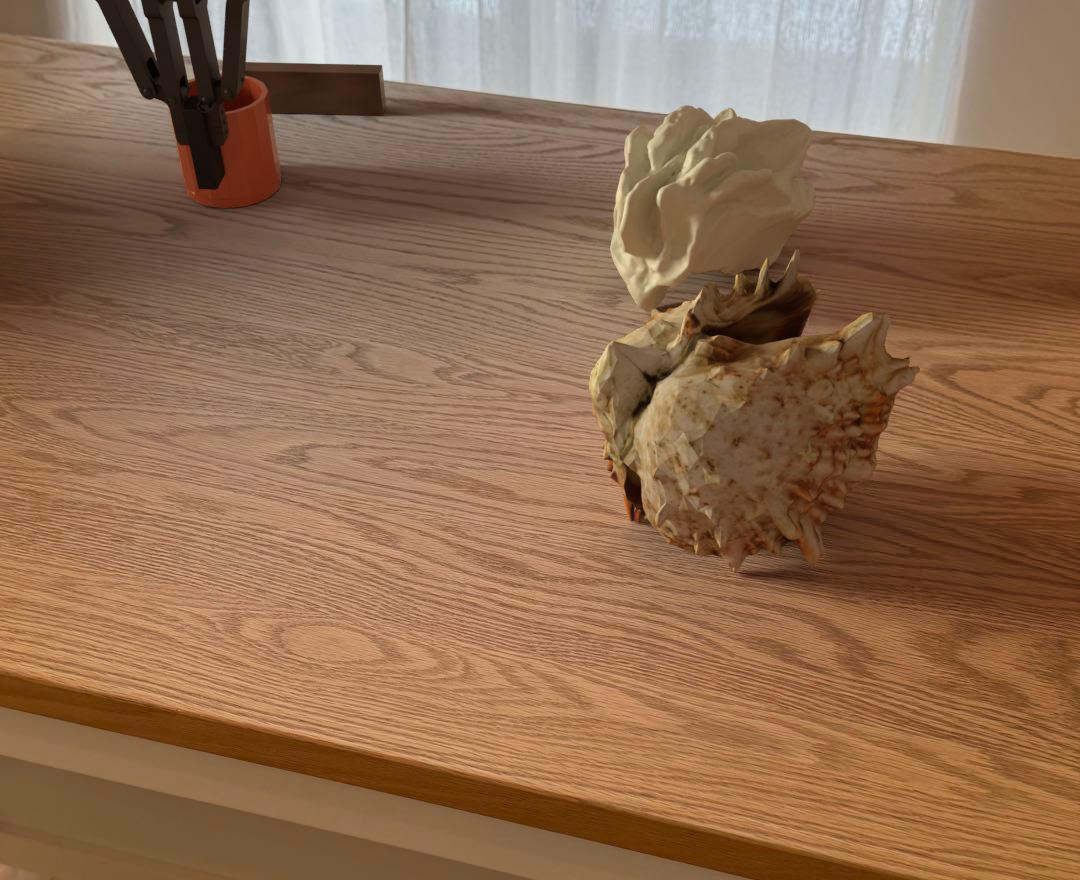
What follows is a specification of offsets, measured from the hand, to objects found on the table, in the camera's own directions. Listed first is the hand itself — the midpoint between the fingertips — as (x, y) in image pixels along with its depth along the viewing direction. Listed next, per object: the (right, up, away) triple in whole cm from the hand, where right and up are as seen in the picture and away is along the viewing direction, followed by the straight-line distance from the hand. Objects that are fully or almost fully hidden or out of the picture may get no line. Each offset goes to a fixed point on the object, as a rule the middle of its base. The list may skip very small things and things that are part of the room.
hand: (212, 181), depth 100 cm
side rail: (+5, +12, +17) cm, 21 cm away
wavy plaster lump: (+38, -8, -3) cm, 39 cm away
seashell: (+38, -28, -24) cm, 53 cm away
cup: (0, +1, +6) cm, 6 cm away
